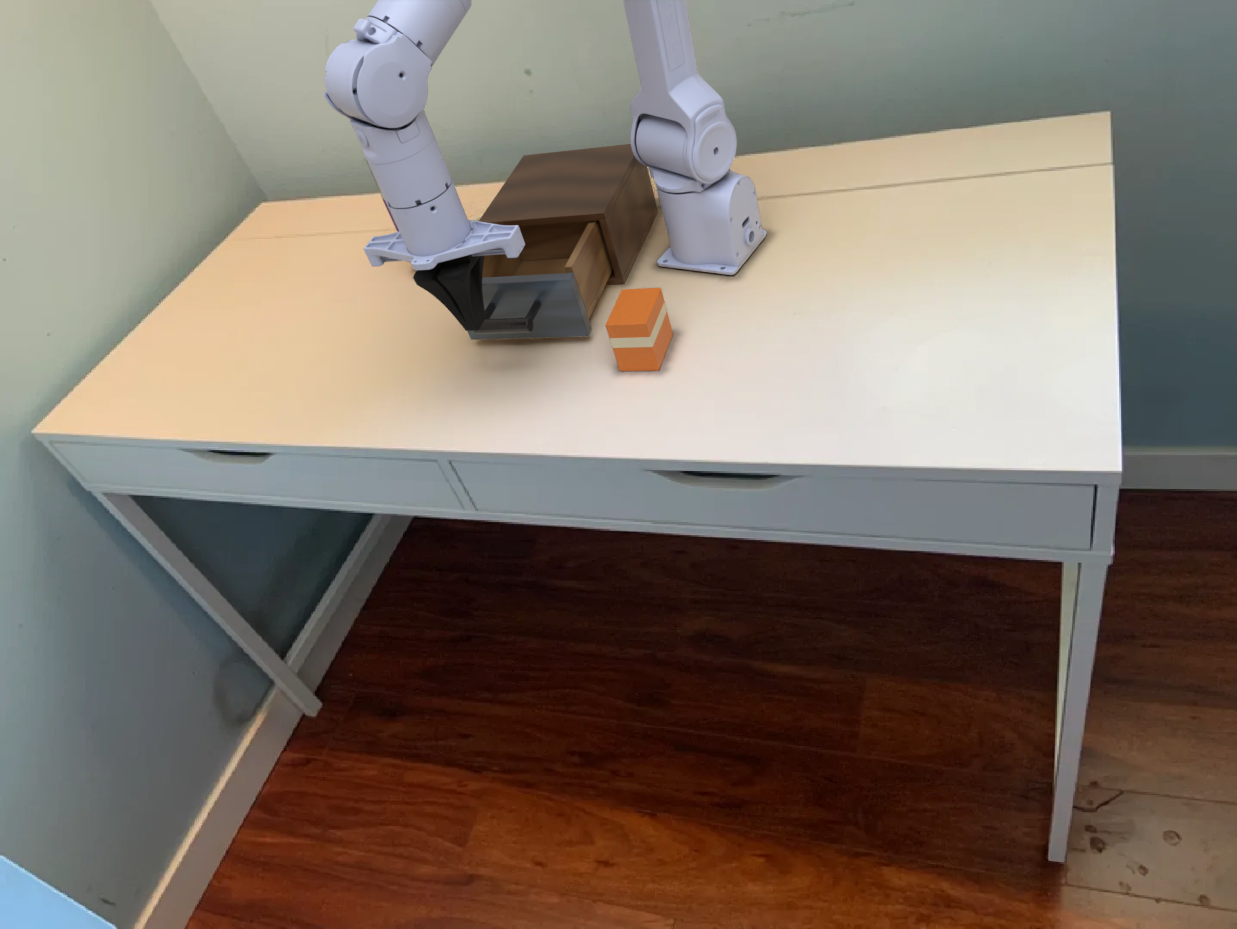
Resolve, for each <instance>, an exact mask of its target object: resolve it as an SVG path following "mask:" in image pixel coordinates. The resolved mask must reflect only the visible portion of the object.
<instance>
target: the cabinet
mask: <svg viewBox="0 0 1237 929" xmlns="http://www.w3.org/2000/svg"><path fill="white" fill-rule="evenodd" d="M655 196H656V195H655V193H654V188H653V185H652V181H651V176H650V172H649V168H648V166H645V165H643V164H641V163H640V162H639V161H638V160H637V159H636V158H635V156H634V154H633V152H632V148H631V143H625V144H616V145H606V146H598V147H587V148H580V149H579V148H578V149H569V150H561V151H551V152H541V153H533V154H525V155H522V157H521V158H520V159H519V161H518V162H517V165H516V166H515V167H514V168H513V170H512V172H511V173H510V174H509V176H508V177H507V179H506V180H505V182H504V183H503V185H502V186H501V188H500V189H499V190H498V192H497V193H496V195H495V197H494V198H493V199H492V201H491V202H490V204H489V205H488V207H487V208H486V209H485V211H484V212H483V214H482V216H481V217H480V218H479V219H478V221H480V222H486V223H492V224H498V225H508V226H512V225H518V226H532V225H545V224H558V223H570V222H583V221H596V220H599V222H600V226H601V229H602V232H603V236H604V239H605V243H606V246H607V249H608V253H609V256H610V260H611V263H612V266H613V270H612V273H611V275H610V277H609V279H608V281H607V283H606V285H605V286H607V285H624V284H625V283H626V281H627V279H628V278H629V274H630V272H631V270H632V269H633V266H634V264H635V261H636V260H637V258H638V255H639V254H640V252H641V249H642V247H643V244H644V242H645V240H646V239H647V236H648V234H649V232H650V229H651V228H652V225H653V224H654V221H655V219H656V217H657V214H658V213H659V209H658V206H657V200H656V197H655Z"/></svg>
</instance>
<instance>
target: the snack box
mask: <svg viewBox="0 0 1237 929" xmlns="http://www.w3.org/2000/svg"><path fill="white" fill-rule="evenodd" d="M605 329H606V333H607V335H608V339H609V342H610V345H611V346H610V347H611V348H612V351H613V354H614V357H615V361H616V363H617V367H618V370H619V372H644V371H645V372H646V371H647V372H649V371H651V372H652V371H657V372H658V371H660V369H661V367H662V364H663V361H664V359H665V356H666V353H667V351H668V348H669V346H670V343H671V341H672V338H673V336H674V332H673V328H672V325H671V321H670V317H669V313H668V307H667V304H666V300H665V298H664V293H663V289H662V288H661V287H647V288H646V287H645V288H625V289H621V290H620V292H619V294H618V297H617V299H616V301H615V303H614V306H613V307H612V310H611V312H610V314H609V316H608V318H607V320H606V322H605Z"/></svg>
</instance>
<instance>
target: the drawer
mask: <svg viewBox="0 0 1237 929" xmlns="http://www.w3.org/2000/svg"><path fill="white" fill-rule="evenodd" d="M519 228H520V231H521V234H522V237H523V239H524V242H525V246H524V247H523V250H522V251H521V253H520V254H519V256H518V257H517V258H507V256H506V254H499V255H485V257H484V263H483V274H482V292H483V302H484V309H485V315H486V319H485V320H484V322H483V324H482V325H481V327H480V329H479V330H475V331H466V332H467V334H468V336H469V338H470V341H479V340H480V341H481V340H511V339H512V340H513V339H514V340H515V339H547V338H548V339H550V338H580V337H584V338H585V337H590V335H591V333H592V330H593V328H592V324H591V322H590V318H591V315H592V313H593V311H594V309H595V307H596V305H597V304H598V301H599V299H600V297H601V295H602V293H603V291H604V289H605V287H606V286H607V285H606V283H607V281H608V279H609V277H610V275H611V273H612V270H613V266H612V263H611V260H610V256H609V253H608V249H607V246H606V243H605V239H604V236H603V232H602V229H601V226H600V222H599V220H596V221H583V222H570V223H558V224H545V225H532V226H519Z"/></svg>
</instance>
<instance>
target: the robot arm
mask: <svg viewBox="0 0 1237 929" xmlns="http://www.w3.org/2000/svg"><path fill="white" fill-rule="evenodd" d="M622 2H623V6H624V12H625V16H626V21H627V26H628V30H629V35H630V40H631V41H630V42H631V45H632V49H633V50H632V51H633V54H634V59H635V64H636V68H637V73H638V80H639V84H640V87H639V90H638V91H637V92H636V94H635V95H634V96H633V98H631V100H630V102H629V103H630V104H629V107H630V111H631V112H630V113H631V117H632V118H631V121H632V122H631V130H630V140H629V142H630V144H631V148H632V152H633V154H634V156H635V158H636V159H637V160H638V161H639V162H640V163H641V164H643V165H645V166H647V168H648V172H649V176H650V178H651V179H653V180H654V184H655V188H656V192H657V196H658V199H659V200H658V201H659V204H660V208H661V212H662V216H663V217H662V218H663V221H664V225H665V228H666V233H667V237H668V241H669V247H668V248H667V249H666V250H665V252H664V253H663V254H662V255H661V256H660V258H659V259H657V261H656V264H657V266H658V267H662V268H663V267H664V268H669V269H670V268H671V269H677V270H678V269H679V270H687V271H695V272H703V273H711V274H721V275H726V276H733V275H735V274H737V273H738V271H739V270H740V269H741V267H742V266H743V265H744V264H745V263H746V262H747V260H748V259H749V258H750V257H751V255H752V254H753V253H754V251H755V250H756V249H757V248H758V247H759V245H760V244H761V243H762V241H763V240H764V239H765V238H766V236H767V234H768V233H767V230H765V229H763V225H762V220H761V213H760V207H759V202H758V196H757V190H756V186H755V183H754V181H753V180H752V178H751V177H749V176H748V175H745V174H741V173H737V172H735V171H733V170H731V167H732V165H733V163H734V160H735V158H736V154H737V147H738V138H737V132H736V130H735V127H734V125H733V123H732V122H731V120H730V119H729V118H728V116H727V114H726V109H725V104H724V103H725V102H724V99H723V98H722V96H721V95H720V93H718V92H717V91H716V90H715V89H714V88H713V87H712V86H711V85H710V84H709V83H708V82H707V81H706V80H705V79H704V78H702V76H701V75H700V74H699V72H698V64H697V58H696V53H695V48H694V47H695V46H694V42H693V36H692V29H691V24H690V17H689V12H688V5H687V0H622ZM472 3H473V2H472V0H377V1H376V2H375V4H374V5H373V7H372V8H371V10H370V11H369V13H368V14H367V16H366V18H361V17H360V18H358V20H357V22H356V23H355V25H354V26H353V31H354V32H355V35H356V37H355V38H354V39H353V38H352V39H348V40H347V42H341V43H340V44H339V45H337V46H336V48H334V49H333V51H332V52H331V53H330V54H329V57H328V59H327V60H326V64H325V68H324V71H326V73H325V74H326V75H324V85H325V89H326V91H324V92H323V97H324V99H325V100H326V102H327V104H328V105H329V106H330V107H331V108H332V109H333V110H334V111H335V112H336V113H338V114H340V115H342V116H344V117H345V118H347V119H349V120H350V121H349V123H350V125H351V127H352V129H353V131H354V133H355V135H356V138H357V140H358V143H359V145H360V147H361V149H362V152H363V156H364V158H365V157H366V159H367V162H368V164H369V166H370V168H371V170H372V173H373V175H374V177H375V179H376V181H377V184H378V186H379V188H380V190H381V192H382V195H383V197H384V199H385V201H386V203H387V205H388V208H389V210H390V212H391V214H392V216H393V219H394V221H395V223H396V225H397V227H398V230H399V232H397V231H396V232H392V233H387V234H383V235H382V234H381V235H374V236H372V237H371V239H370V240H369V241H368V242H367V244H365V246H364V247H363V251H364V254H365V256H366V257H367V260H368V261H369V264H370V265H371V267H372V268H375V267H382V266H384V264H385V263H393V262H407V263H410V264H411V266H412V269H413V270H414V271H415V270H417V271H415V272H414V274H413V281H414V282H415V285H416V286H418V287H419V288H421V289H423V290H425V291H426V292H428V293H429V294H430V295H431V296H433V297H434V298H435V299H436V300H438V301H439V302H440V303H441V304H442V306H444V307H445V308H446V309H447V310H448V311H449V312H450V314H452V316H453V317H454V318H455V320H456V321H457V322H458V323H459V324H460V325H461V327H462V328H463V329H464V331H466V332H467V331H475V330H479V329H480V327H481V325H482V324H483V322H484V320H485V319H486V315H485V309H484V302H483V292H482V274H483V263H484V257H485V255H499V254H506V256H507V258H517V257H518V256H519V254H520V253H521V251H522V250H523V247H524V246H525V242H524V239H523V237H522V234H521V231H520V228H519V226H518V225H512V226H508V225H498V224H492V223H486V222H480V221H479V220H474V219H468V216H467V214H466V211H465V208H464V206H463V204H462V201H461V199H460V195H459V193H458V190H457V188H456V185H455V184H454V181H453V179H452V176H451V174H450V171H449V168H448V166H447V163H446V161H445V159H444V156H443V154H442V151H441V148H440V146H439V144H438V140H437V138H436V136H435V134H434V130H433V128H432V126H431V124H430V122H429V119H428V116H427V114H426V112H425V107H426V105H427V102H428V96H429V80H428V79H429V75H430V73H431V71H432V70H433V66H434V64H436V61H437V60H438V59H439V57H440V55H441V54H442V52H443V51H444V49H445V47H446V46H447V44H448V43H449V42H450V40H451V38H452V37H453V35H454V33H456V30H457V29H458V27H460V24H461V23H462V21H463V20H464V19H465V17H466V15H467V14H468V12H469V10H470V9H471V7H472ZM367 162H366V163H367ZM368 164H367V165H368Z"/></svg>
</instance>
